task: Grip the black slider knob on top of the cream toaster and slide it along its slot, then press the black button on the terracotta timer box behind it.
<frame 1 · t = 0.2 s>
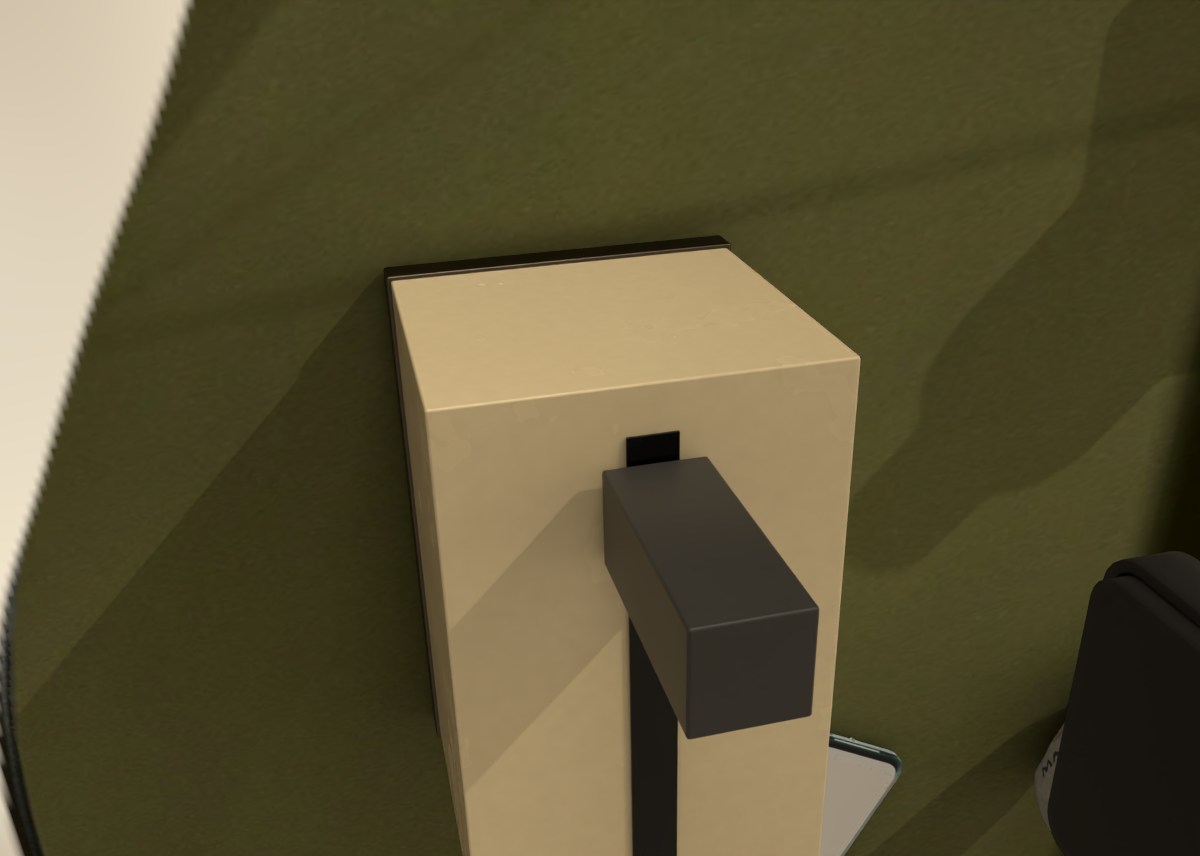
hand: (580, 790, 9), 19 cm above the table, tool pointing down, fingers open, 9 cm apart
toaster: (567, 492, 30), on the table
fossil: (1065, 705, 38), on the table
slider: (698, 583, 19), point 11 cm above the table, slide at 0.0 cm
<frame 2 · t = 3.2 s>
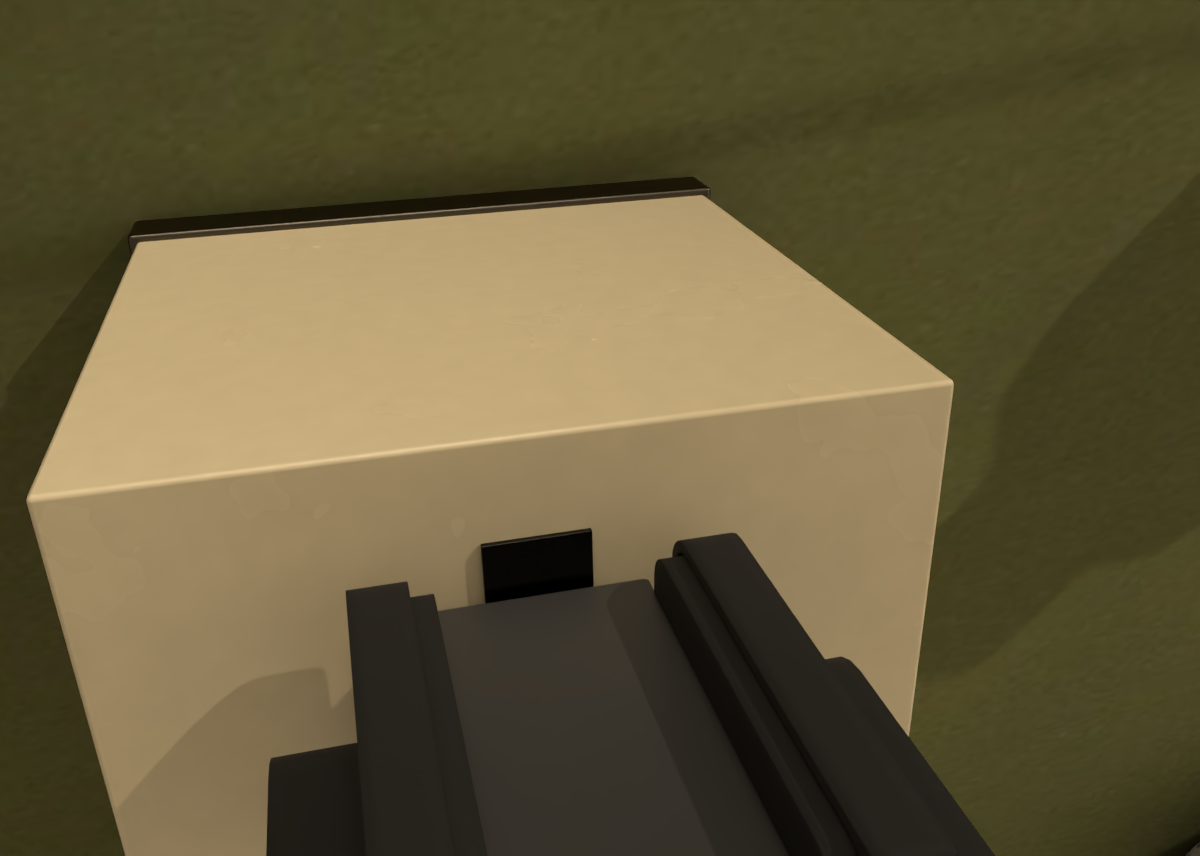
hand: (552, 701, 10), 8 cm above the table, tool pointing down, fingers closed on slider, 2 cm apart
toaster: (461, 575, 19), on the table
fossil: (1173, 842, 28), on the table
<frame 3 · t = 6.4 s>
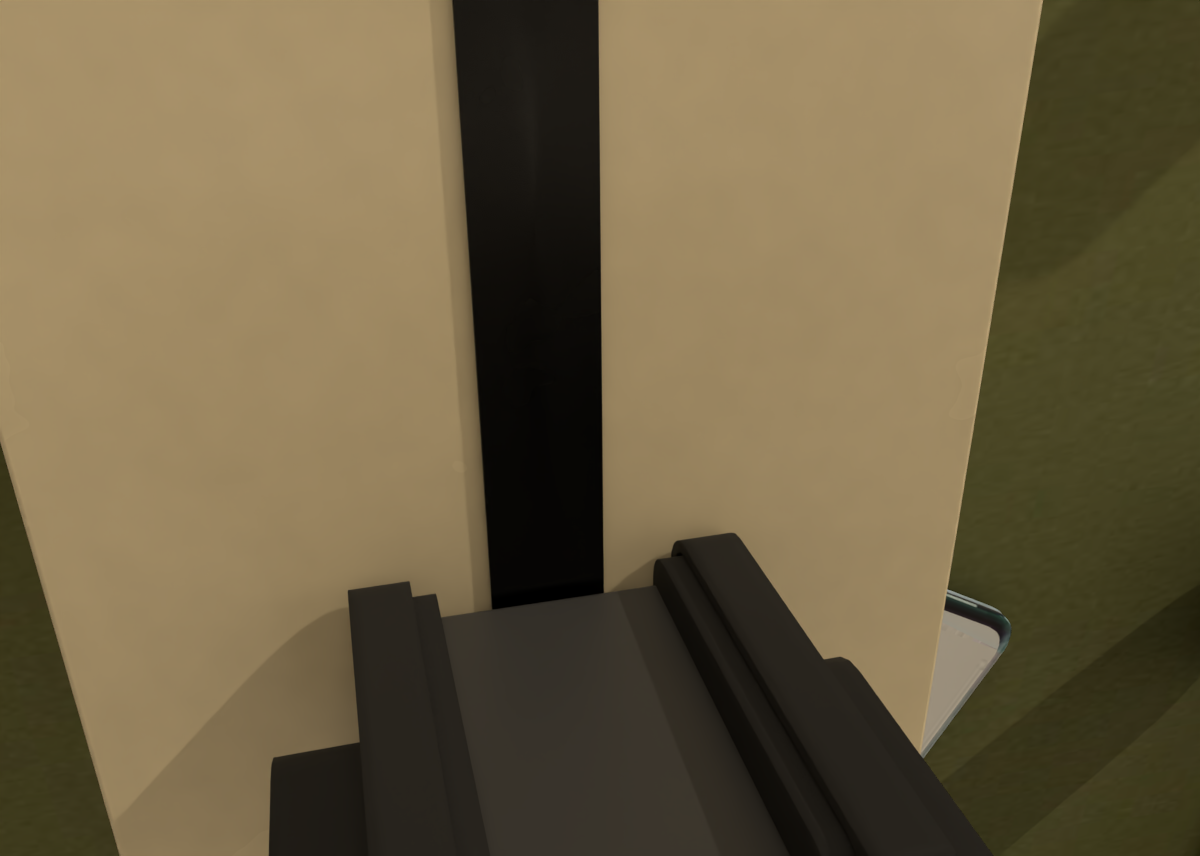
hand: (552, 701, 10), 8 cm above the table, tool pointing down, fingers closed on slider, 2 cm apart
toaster: (426, 47, 15), on the table
smartphone: (679, 838, 23), on the table
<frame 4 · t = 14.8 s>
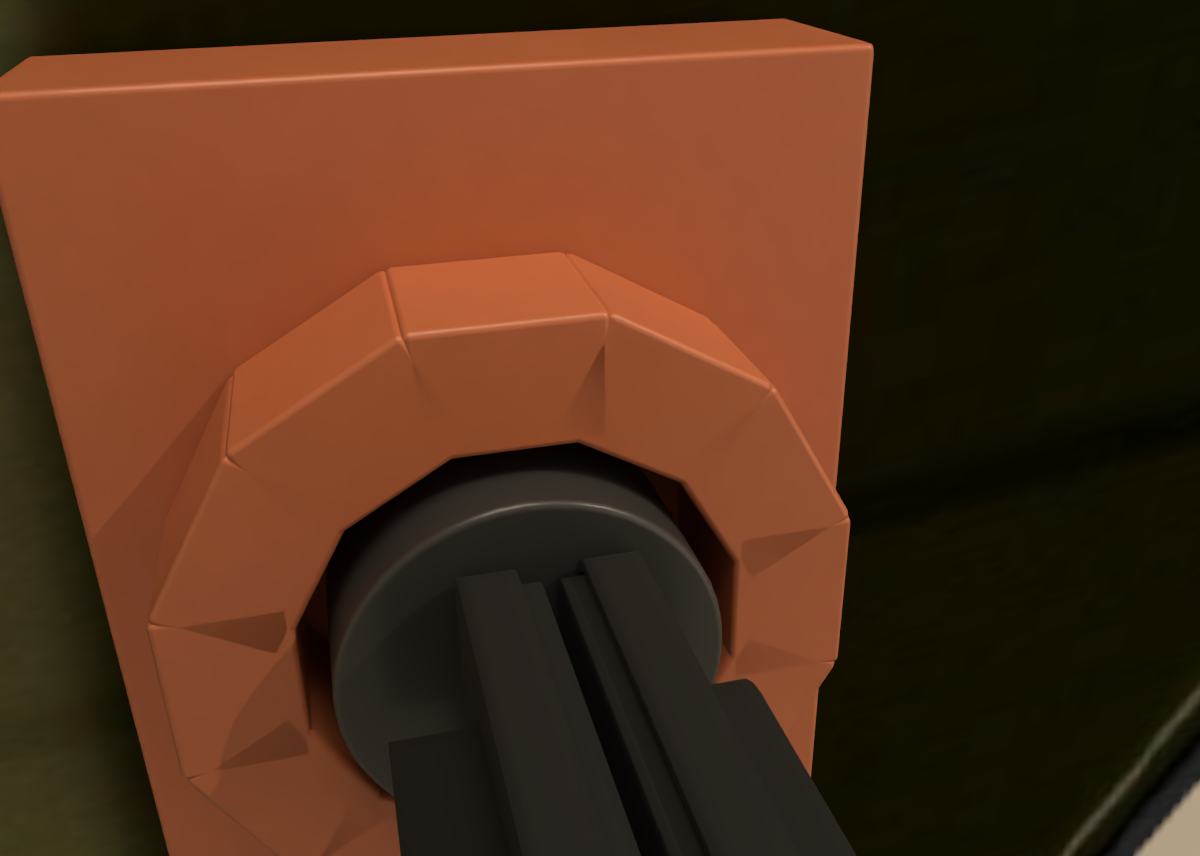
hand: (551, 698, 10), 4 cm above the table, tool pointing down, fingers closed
timer button: (519, 621, 11), point 4 cm above the table, slide at -0.8 cm, touching gripper
timer box: (466, 455, 14), on the table
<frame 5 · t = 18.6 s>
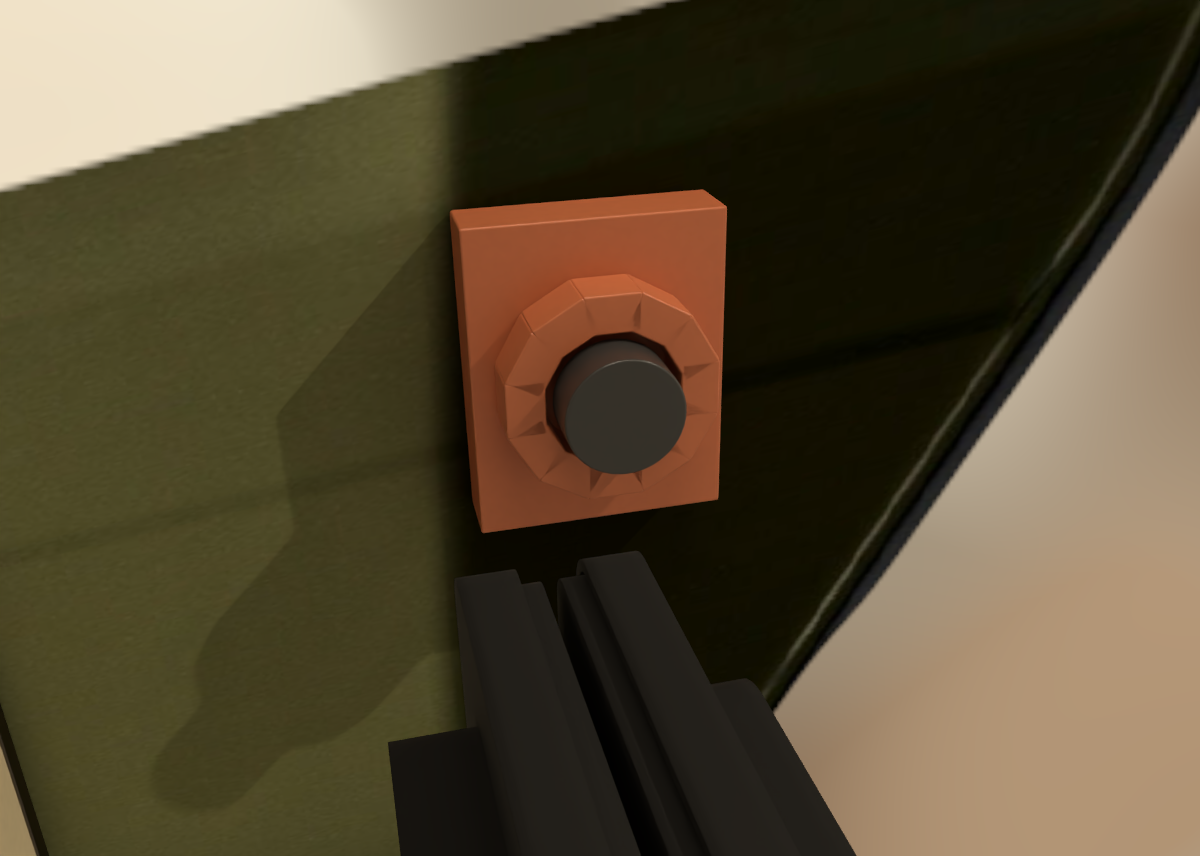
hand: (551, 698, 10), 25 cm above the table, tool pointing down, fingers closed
timer button: (619, 406, 33), point 4 cm above the table, slide at 0.1 cm
timer box: (583, 350, 37), on the table
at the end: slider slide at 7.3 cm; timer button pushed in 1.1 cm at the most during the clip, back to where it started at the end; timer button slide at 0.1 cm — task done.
